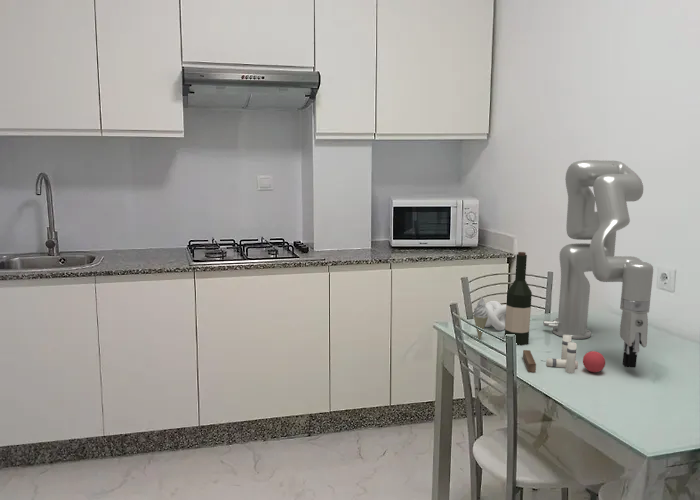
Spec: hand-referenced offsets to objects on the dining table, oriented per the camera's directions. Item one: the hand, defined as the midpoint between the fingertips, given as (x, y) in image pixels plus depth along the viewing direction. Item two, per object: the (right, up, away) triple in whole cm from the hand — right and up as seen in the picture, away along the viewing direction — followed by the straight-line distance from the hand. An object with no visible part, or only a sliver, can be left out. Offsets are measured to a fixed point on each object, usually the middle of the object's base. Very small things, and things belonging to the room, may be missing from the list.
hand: (629, 366), depth 174 cm
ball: (-11, +1, -1) cm, 11 cm away
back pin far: (-16, 0, +6) cm, 17 cm away
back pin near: (-17, -1, -1) cm, 17 cm away
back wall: (-28, 0, +4) cm, 28 cm away
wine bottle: (-25, +3, +26) cm, 36 cm away
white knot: (-28, +6, +41) cm, 50 cm away
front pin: (-14, 0, +2) cm, 14 cm away
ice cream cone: (-37, +4, +28) cm, 47 cm away
